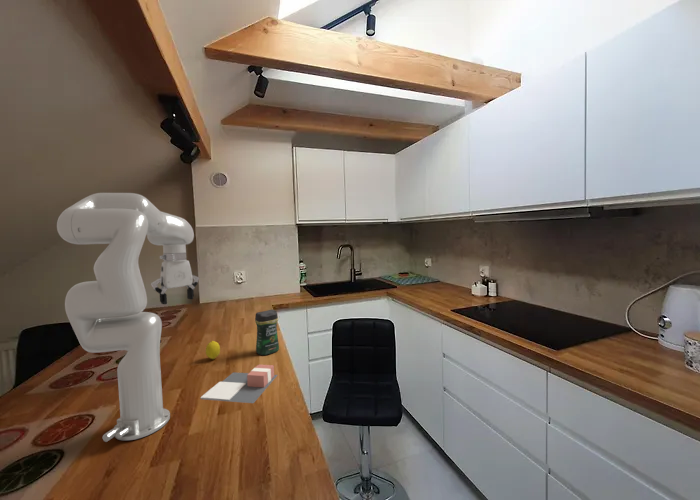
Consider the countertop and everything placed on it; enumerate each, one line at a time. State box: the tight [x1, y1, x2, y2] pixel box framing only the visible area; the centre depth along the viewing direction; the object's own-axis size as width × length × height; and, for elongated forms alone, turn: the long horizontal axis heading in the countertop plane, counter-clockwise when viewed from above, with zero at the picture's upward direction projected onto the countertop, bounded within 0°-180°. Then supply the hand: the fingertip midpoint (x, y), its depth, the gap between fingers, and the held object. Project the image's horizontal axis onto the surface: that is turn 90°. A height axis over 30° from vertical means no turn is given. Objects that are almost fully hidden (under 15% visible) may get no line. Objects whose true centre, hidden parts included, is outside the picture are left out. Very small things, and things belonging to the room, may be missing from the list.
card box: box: [247, 364, 275, 387], centre depth 102 cm, size 8×6×4 cm
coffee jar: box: [254, 309, 280, 356], centre depth 129 cm, size 10×8×19 cm
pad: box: [200, 381, 246, 401], centre depth 96 cm, size 10×10×1 cm
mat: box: [201, 371, 278, 404], centre depth 99 cm, size 18×18×1 cm
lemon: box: [205, 340, 221, 360], centre depth 123 cm, size 6×6×8 cm
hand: (177, 301), depth 113 cm, fingers open, 9 cm apart
